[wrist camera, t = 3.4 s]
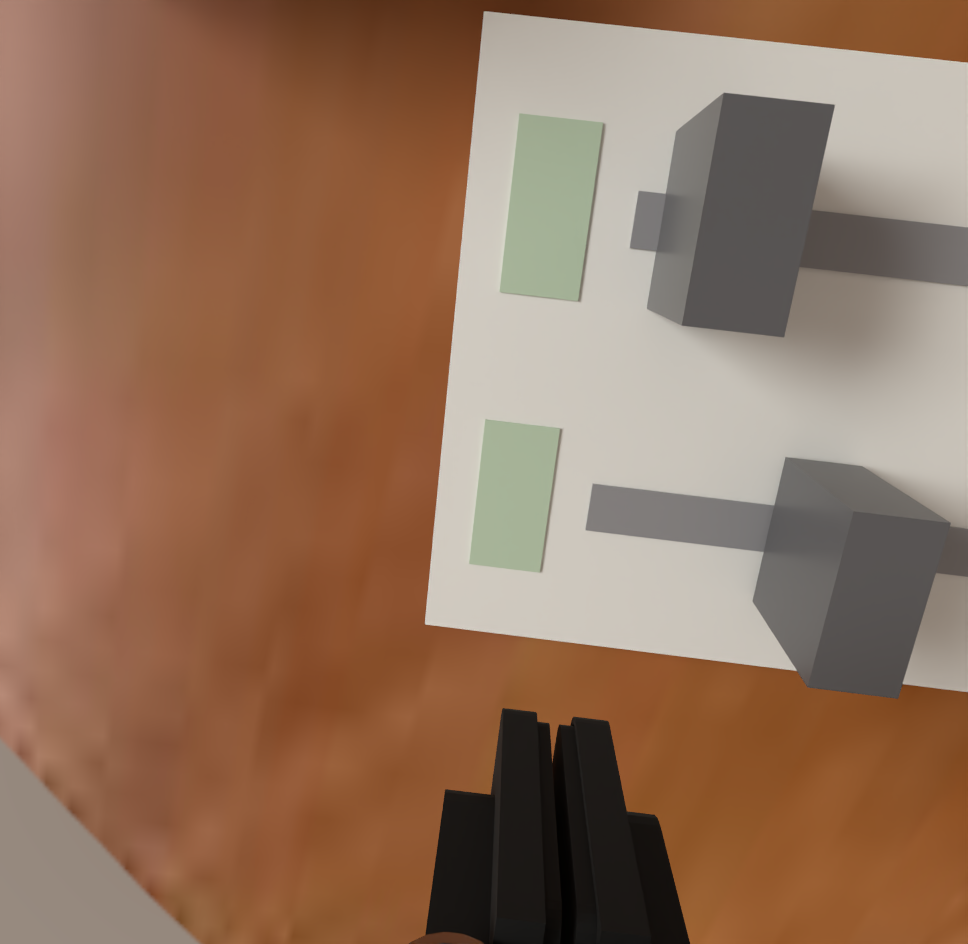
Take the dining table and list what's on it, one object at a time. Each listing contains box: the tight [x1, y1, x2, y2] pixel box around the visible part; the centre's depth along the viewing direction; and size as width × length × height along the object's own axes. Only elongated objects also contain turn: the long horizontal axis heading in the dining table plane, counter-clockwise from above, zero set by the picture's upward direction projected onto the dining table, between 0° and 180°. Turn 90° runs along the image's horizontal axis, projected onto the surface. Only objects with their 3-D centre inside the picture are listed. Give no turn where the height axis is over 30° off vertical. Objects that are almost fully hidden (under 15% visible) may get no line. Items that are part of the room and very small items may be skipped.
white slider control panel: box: [425, 11, 968, 692], centre depth 22 cm, size 24×19×8 cm
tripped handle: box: [752, 457, 951, 699], centre depth 22 cm, size 2×5×5 cm, turn 174°
